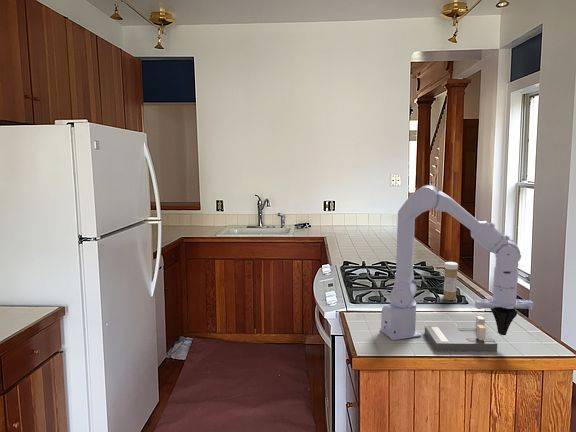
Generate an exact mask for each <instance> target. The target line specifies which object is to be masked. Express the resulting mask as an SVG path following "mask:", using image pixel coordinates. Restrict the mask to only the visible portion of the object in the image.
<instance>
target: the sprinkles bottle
mask: <svg viewBox="0 0 576 432" xmlns="http://www.w3.org/2000/svg"><path fill="white" fill-rule="evenodd" d="M458 269H459V264H458V263H457V262H455V261H445V262H444V280H443V295H442V299H444V300H445V301H450V300H453V301H456V300H457V289H458ZM455 299H456V300H455Z"/></svg>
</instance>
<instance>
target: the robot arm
mask: <svg viewBox="0 0 576 432" xmlns="http://www.w3.org/2000/svg"><path fill="white" fill-rule="evenodd" d="M435 207H436V208H435ZM434 208H435V211H436V212H441V213H442V212H443V213H447V214H449V215H450V216H451V217H453V218H454V220H456V221H458V222H459V223H461V224H462V225H463V226H465V228H467V229H468V230H470V237H471V238H472V239H473V240H474V241H475V242H476V243H478V244H479V245H481V246H482V247H483V249H486V251H488V252H489V253H493V254H494V255H495V266H494V269H493V270H494V272H493V287H492V298H491V297H490V298H485V299H475V300H474V301H475V302H474V307H475V308H476V309H477V310H483V309H490V311H491V313H492V315H493V317H494V320H495V323H496V328H497V329H496V330H497V333H498V334H499V335H500V336H507V333H508V330H509V328H510V325H511V324H512V323H513V320H514V319H515V318H516V317H517V315H518V311H517V309H527V310H533V309H534V302H533V301H531V300H530V299H519V298H517V294H518V293H517V292H518V280H519V269H518V268H519V262H520V261H521V258H522V255H521V250H520V248H519V246H518V244H517V243H516V242H515V241H514V239H511V238H510V236H509V235H507V234H506V235H504V234H503V233H502V232H501V231H500V230H498V229H497V228H496V225H495V224H494V222H492V221H491V222H490V223H489V222H488V221H487V220H482V221H481V220H478V219H477V218H476V217H474V216H473V215H472V214H471V213H470V212H468V211H467V210H466V209H465V208H464V207H463V206H461V205H460V204H459V203H458V202H456V201H455V199H453V198H452V197H451V196H449V195H448V194H446V193H445V192H443V191H442V190H439V189H438V188H437V187H436V186H434V185H431V184H425V185H423V186H421V187H420V188H418V189H417V190H415V191H413V192H412V193H411V194H410V195H408V198H407V199H406V201H405V202H404V203H403V204H402V206H401V207H400V208H399V209H398V212H397V227H396V228H397V229H396V232H397V233H396V259H395V260H396V263H395V264H396V265H395V266H396V268H395V276H394V282H393V288H392V290H391V291H390V295H389V296H390V300H391V301H390V303H389V304H387V305H384V306H383V307H382V309H381V321H380V328H379V330H380V331H381V332H382V333H383V334H384V335H386V336H387V337H388V338H390V339H391V340H392V341H396V340H402V339H408V338H410V339H411V338H418V337H422V334H421V332H420V331H417V330H416V321H417V317H416V316H417V302H416V301H415V299H414V297H415V296H416V294H417V292H418V291H417V289H418V287H417V284H416V282H415V275H414V274H415V273H414V259H415V258H414V257H415V255H414V254H415V253H414V252H415V231H416V230H415V227H416V226H415V225H416V223H415V222H416V218H418V217H419V216H420V215H421V214H422V213H425V212H428V211H430V210H432V209H434Z"/></svg>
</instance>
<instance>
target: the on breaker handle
mask: <svg viewBox="0 0 576 432" xmlns="http://www.w3.org/2000/svg"><path fill="white" fill-rule="evenodd" d="M485 320H486V319H485V318H484V317H483V316H482V315H476V316H475V326H476V328H477V325H483V326H484V327H485V324H486V322H485Z"/></svg>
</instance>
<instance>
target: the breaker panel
mask: <svg viewBox="0 0 576 432" xmlns="http://www.w3.org/2000/svg"><path fill="white" fill-rule="evenodd" d="M476 330H477V328H476V325H470V326H469V325H425V326H424V335H425V336H426V337H427V339H428V341H429V342H430V344H431V345H432V347H433V348H434V350H435V351H436V352H479V353H481V352H483V353H484V352H489V353H491V352H492V353H493V352H496V353H497V352H498V343H497V341H495V339H494V338H492V337H491V336H490V335H489V334H488V333H487V332H486V335H485V340H479V339H478V338H477V337H476Z"/></svg>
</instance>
